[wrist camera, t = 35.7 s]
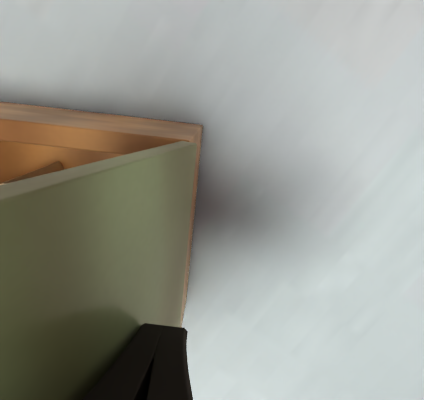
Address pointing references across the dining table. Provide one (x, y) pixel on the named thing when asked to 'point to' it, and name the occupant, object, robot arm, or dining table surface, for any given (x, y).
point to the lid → (89, 267)
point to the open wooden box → (85, 143)
